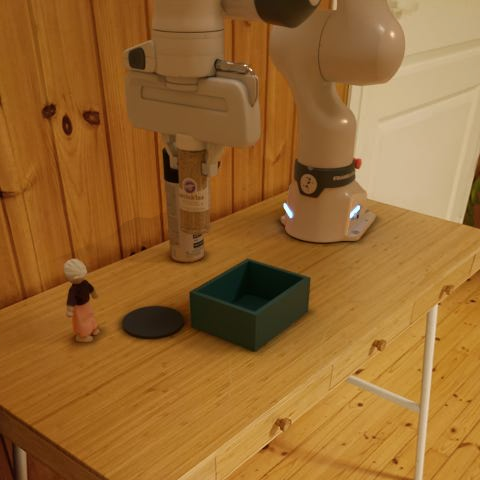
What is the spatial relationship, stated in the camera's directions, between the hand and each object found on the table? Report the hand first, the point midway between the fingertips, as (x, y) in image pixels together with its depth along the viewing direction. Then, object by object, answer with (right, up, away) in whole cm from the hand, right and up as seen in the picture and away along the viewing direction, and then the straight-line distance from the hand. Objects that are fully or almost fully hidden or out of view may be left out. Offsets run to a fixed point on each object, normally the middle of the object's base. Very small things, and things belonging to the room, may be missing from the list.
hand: (193, 172), depth 84 cm
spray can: (-4, -2, +35) cm, 35 cm away
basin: (+8, -18, +16) cm, 25 cm away
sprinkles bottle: (0, -7, +5) cm, 8 cm away
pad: (-8, -18, +15) cm, 25 cm away
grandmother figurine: (-18, -21, +11) cm, 30 cm away
